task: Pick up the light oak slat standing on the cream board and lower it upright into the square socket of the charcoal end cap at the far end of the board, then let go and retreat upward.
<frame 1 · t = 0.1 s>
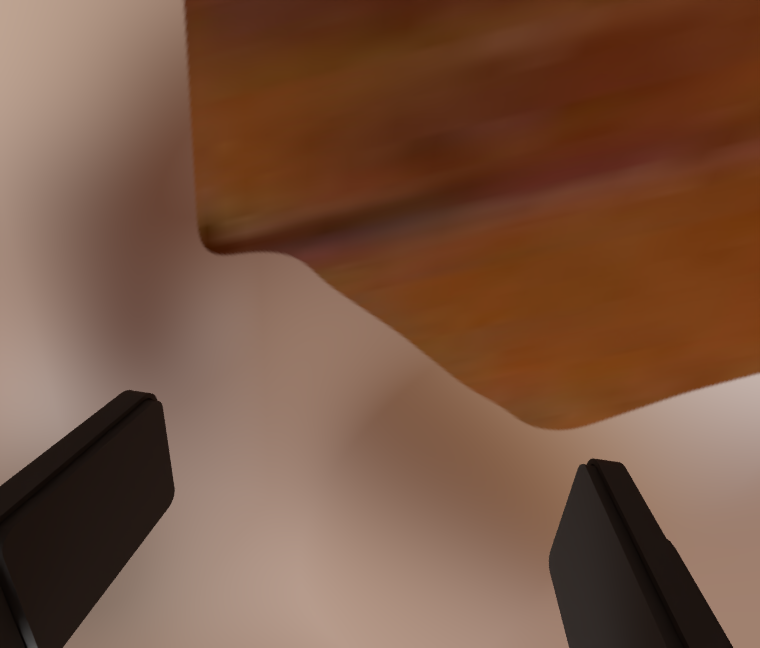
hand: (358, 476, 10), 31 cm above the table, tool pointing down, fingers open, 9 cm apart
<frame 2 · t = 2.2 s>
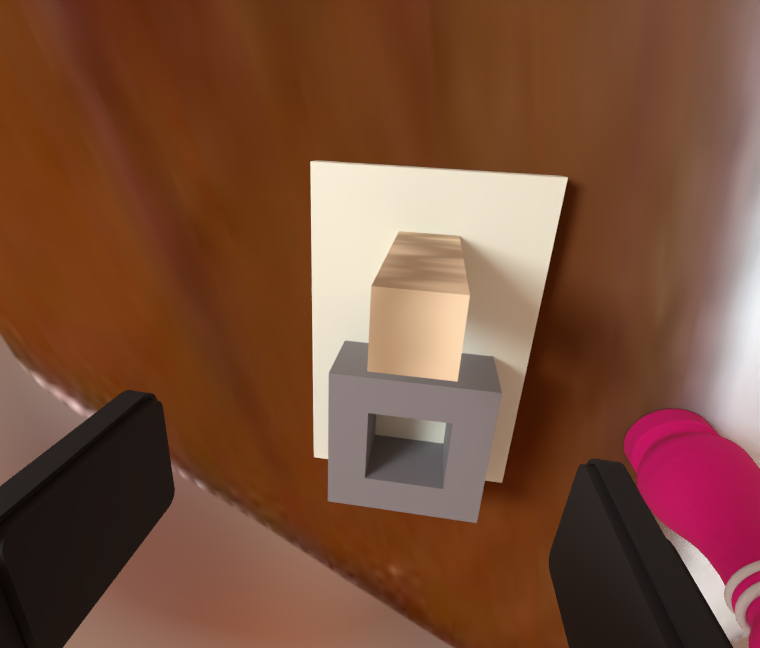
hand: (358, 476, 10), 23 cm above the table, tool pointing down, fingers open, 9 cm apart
oak slat: (426, 262, 29), point 1 cm above the table, touching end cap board
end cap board: (419, 333, 33), on the table
pepper mill: (664, 439, 34), on the table
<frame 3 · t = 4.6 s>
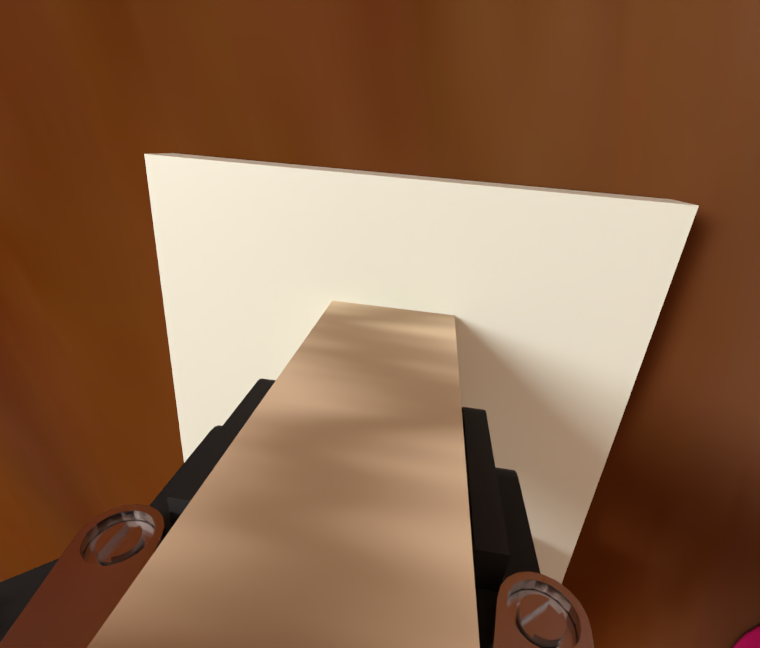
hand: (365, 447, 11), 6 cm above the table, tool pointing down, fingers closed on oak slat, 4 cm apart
oak slat: (387, 362, 15), point 2 cm above the table, touching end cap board, gripper
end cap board: (379, 468, 18), on the table
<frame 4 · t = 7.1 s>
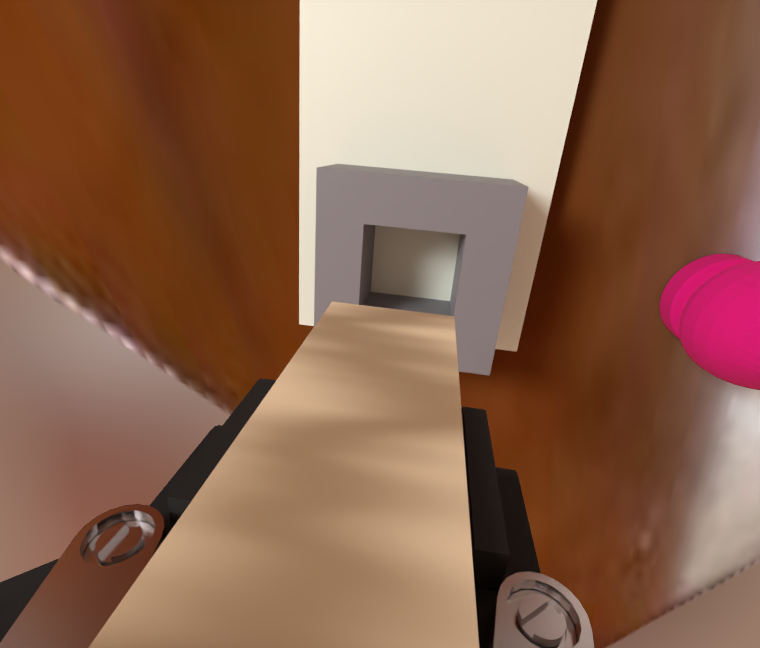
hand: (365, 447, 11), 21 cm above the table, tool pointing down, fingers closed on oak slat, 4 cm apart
oak slat: (387, 363, 15), point 17 cm above the table, touching gripper
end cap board: (425, 161, 28), on the table
pepper mill: (707, 297, 29), on the table
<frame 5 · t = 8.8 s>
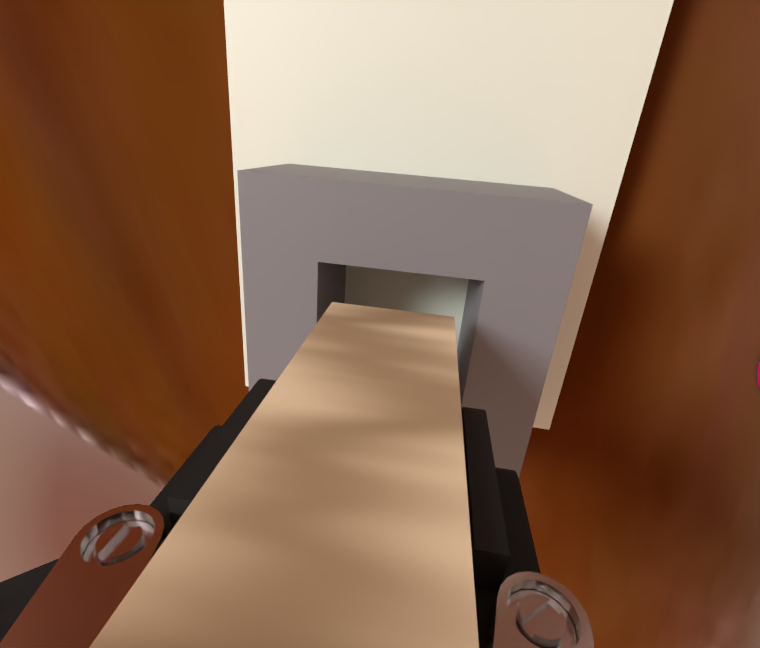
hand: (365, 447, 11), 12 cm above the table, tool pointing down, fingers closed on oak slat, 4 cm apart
oak slat: (387, 363, 15), point 7 cm above the table, touching gripper
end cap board: (420, 161, 19), on the table
when the fingers open (8 cm above the table, at t = 9.9 s): oak slat drops 2 cm, resting on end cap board.
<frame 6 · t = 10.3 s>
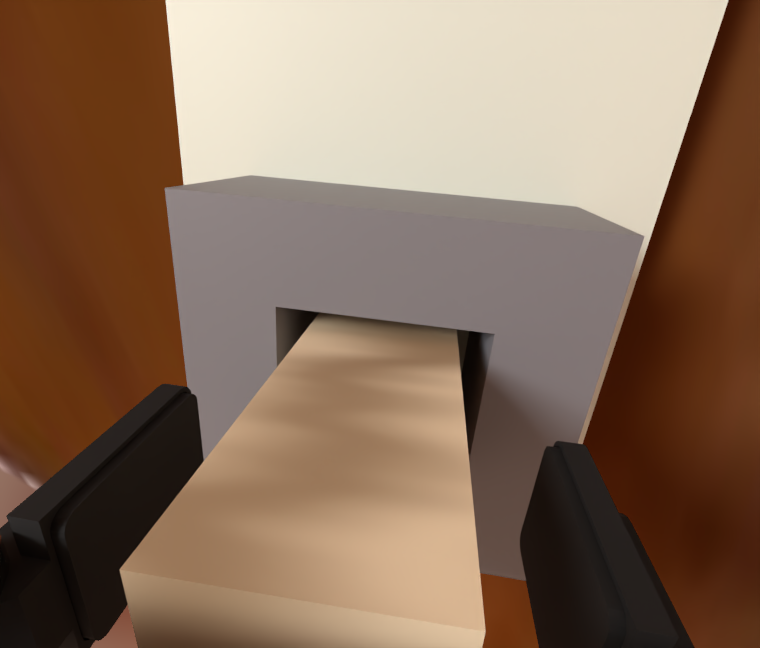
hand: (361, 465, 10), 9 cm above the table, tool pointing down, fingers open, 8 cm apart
oak slat: (394, 335, 16), point 2 cm above the table, touching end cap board
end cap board: (412, 172, 15), on the table
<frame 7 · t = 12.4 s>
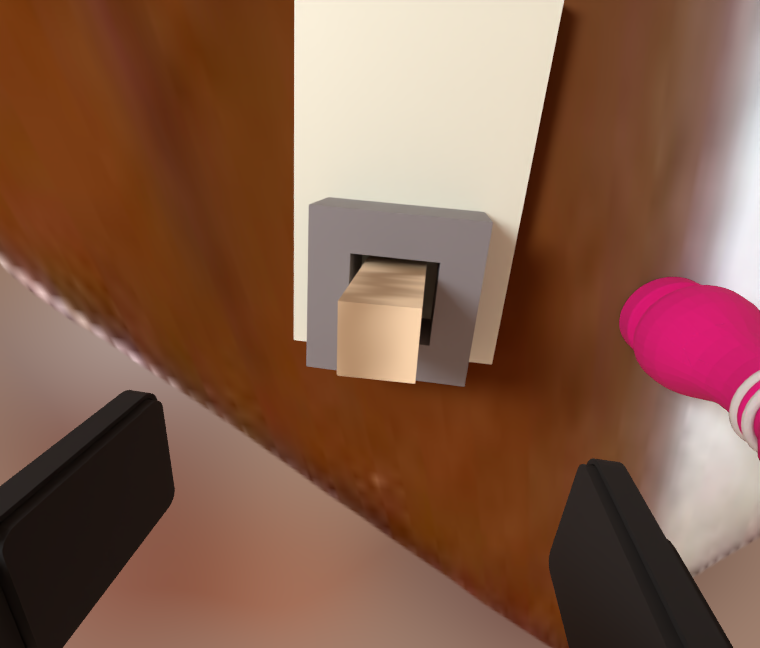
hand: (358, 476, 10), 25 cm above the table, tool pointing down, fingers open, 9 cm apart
oak slat: (398, 278, 32), point 1 cm above the table, touching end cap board
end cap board: (407, 195, 31), on the table
pepper mill: (661, 315, 32), on the table
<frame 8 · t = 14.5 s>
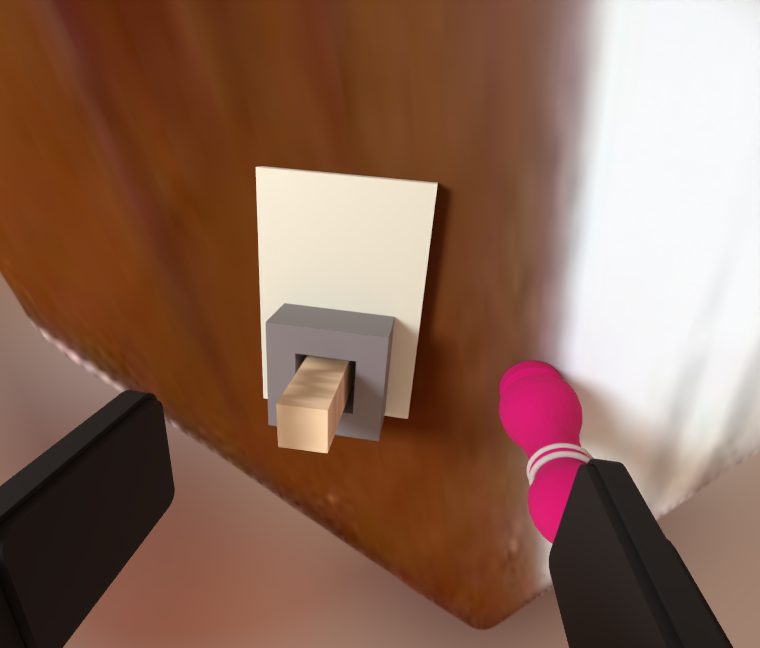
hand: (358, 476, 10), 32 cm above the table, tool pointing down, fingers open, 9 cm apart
oak slat: (337, 358, 44), point 1 cm above the table, touching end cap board
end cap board: (342, 300, 43), on the table
pepper mill: (529, 385, 44), on the table
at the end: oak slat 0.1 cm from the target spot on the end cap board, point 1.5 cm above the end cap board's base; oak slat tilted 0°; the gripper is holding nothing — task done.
